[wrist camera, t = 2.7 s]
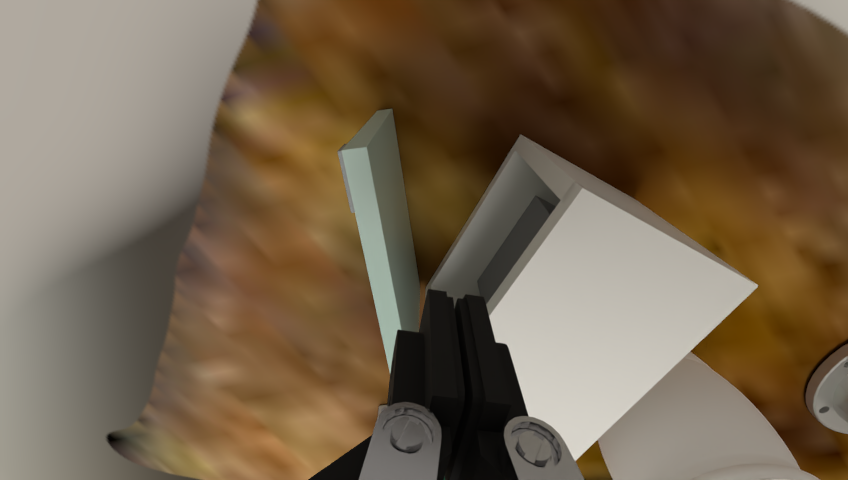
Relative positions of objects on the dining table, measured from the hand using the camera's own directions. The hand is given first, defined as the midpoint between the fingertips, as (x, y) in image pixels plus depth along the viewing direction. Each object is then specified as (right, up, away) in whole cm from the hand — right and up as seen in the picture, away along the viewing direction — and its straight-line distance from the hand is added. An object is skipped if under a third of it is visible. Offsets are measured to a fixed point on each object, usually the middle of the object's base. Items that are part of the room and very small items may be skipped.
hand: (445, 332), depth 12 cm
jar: (+17, -7, +24) cm, 30 cm away
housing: (+7, +2, +19) cm, 20 cm away
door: (-3, +5, +17) cm, 18 cm away
